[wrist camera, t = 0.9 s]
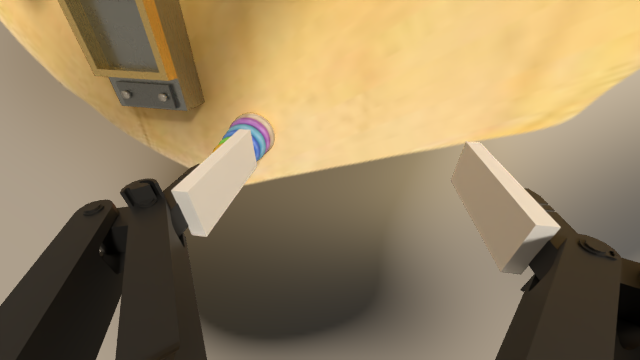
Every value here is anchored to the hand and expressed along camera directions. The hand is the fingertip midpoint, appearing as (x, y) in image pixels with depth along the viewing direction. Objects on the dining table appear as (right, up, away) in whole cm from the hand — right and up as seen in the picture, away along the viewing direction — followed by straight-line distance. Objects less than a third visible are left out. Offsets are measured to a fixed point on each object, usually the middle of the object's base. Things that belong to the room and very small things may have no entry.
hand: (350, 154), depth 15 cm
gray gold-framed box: (-29, +21, +23) cm, 42 cm away
